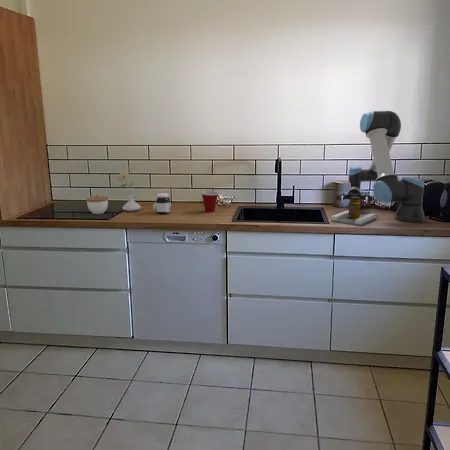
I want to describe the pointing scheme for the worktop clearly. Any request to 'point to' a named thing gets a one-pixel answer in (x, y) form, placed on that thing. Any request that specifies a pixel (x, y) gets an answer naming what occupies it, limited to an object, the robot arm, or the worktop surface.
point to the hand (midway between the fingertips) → (354, 200)
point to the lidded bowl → (97, 204)
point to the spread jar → (162, 204)
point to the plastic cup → (209, 200)
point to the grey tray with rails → (359, 221)
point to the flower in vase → (131, 204)
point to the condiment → (354, 208)
